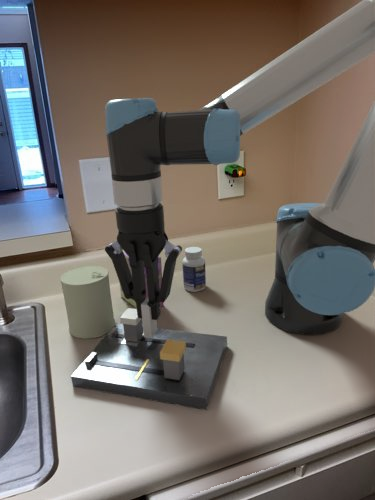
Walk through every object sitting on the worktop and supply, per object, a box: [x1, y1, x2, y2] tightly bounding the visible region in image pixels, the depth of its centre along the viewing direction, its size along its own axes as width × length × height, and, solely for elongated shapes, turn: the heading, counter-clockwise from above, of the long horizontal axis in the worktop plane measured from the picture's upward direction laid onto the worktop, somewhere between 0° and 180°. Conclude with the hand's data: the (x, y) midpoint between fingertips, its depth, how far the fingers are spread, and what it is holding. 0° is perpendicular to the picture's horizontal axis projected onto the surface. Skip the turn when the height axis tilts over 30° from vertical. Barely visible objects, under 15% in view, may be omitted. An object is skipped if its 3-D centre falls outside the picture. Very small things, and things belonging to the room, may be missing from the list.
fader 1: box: [119, 307, 143, 342], centre depth 69 cm, size 3×3×5 cm
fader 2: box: [160, 340, 186, 380], centre depth 59 cm, size 3×3×5 cm
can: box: [59, 265, 116, 340], centre depth 76 cm, size 9×9×12 cm
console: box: [70, 322, 228, 411], centre depth 65 cm, size 22×16×3 cm
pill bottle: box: [181, 246, 207, 293], centre depth 91 cm, size 5×5×10 cm
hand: (150, 333), depth 68 cm, fingers closed
